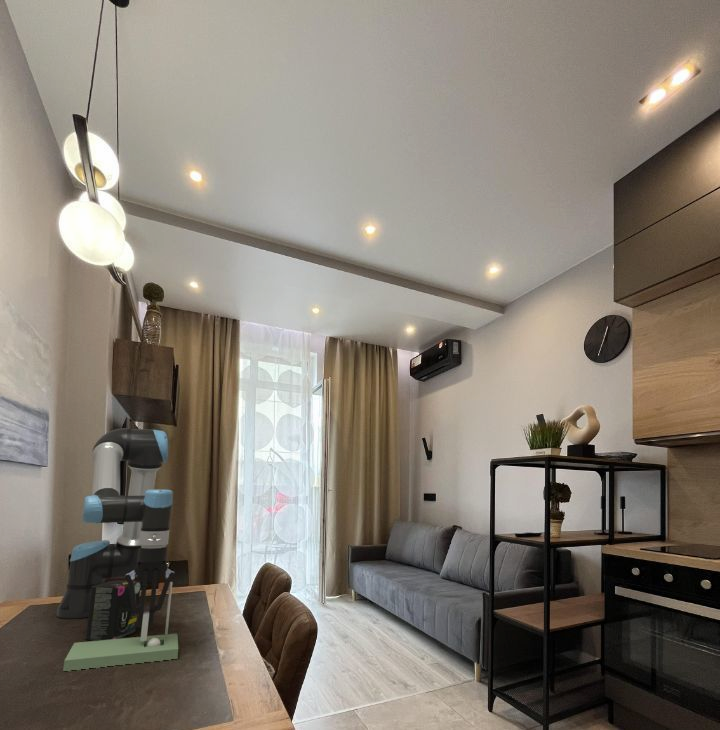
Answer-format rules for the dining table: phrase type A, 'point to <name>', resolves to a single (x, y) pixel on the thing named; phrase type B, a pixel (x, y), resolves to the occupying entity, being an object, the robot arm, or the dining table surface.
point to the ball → (153, 642)
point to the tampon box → (111, 611)
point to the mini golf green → (123, 649)
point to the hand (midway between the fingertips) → (143, 639)
